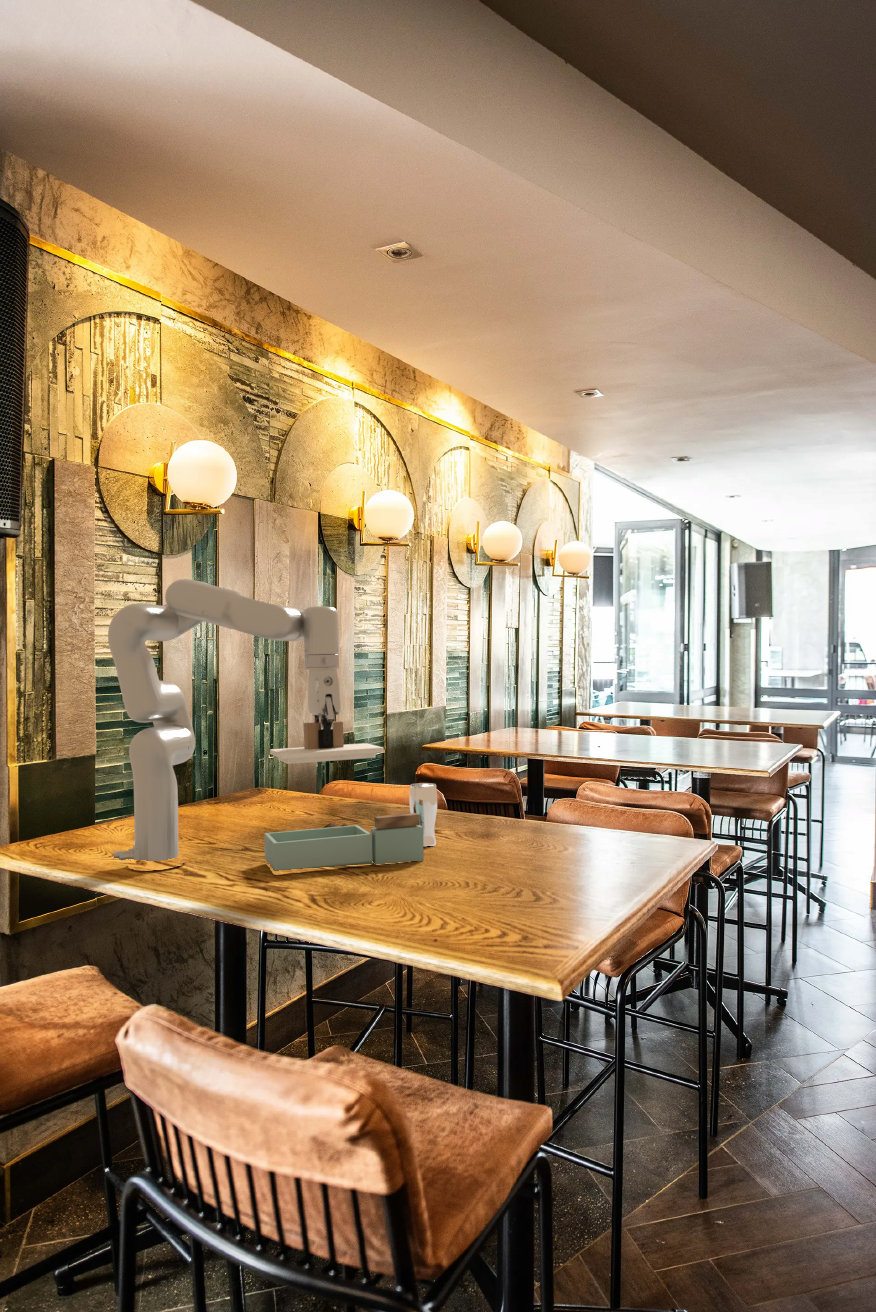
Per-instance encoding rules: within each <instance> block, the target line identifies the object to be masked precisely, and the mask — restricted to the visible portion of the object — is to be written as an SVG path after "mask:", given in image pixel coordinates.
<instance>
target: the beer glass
mask: <svg viewBox="0 0 876 1312" xmlns="http://www.w3.org/2000/svg"><path fill="white" fill-rule="evenodd" d="M409 812H410V813H417V814H419V825H421V826H423V847H425V848H427V847H426V846H433V847H435V846H437V840H436V834H435V828H436V827H435V826H436V820H437V819H436V818H437V813H438V791H437V784H436V783H432V782H431V783H430V782H419V783H412V784H410V786H409ZM410 813H409V814H410Z"/></svg>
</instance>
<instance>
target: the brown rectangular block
mask: <svg viewBox="0 0 876 1312" xmlns="http://www.w3.org/2000/svg"><path fill="white" fill-rule="evenodd" d="M414 825H419V814H417V813H402V814H400V813H399V814H389V815H376V816H375V815H374V828H377V829H381V828H392V827H403V826H414Z"/></svg>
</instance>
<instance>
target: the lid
mask: <svg viewBox="0 0 876 1312" xmlns="http://www.w3.org/2000/svg"><path fill="white" fill-rule="evenodd" d="M318 730H320V727H319V722H314V723H313V722H304V723H303V747H302V746H301V747H285V748H272V749H271V748H270V749H269V755H271V756H274V757H276V758H277V761H281V762H283V763H284V764H287V765H291V764H304V763H305V764H307V763H319V762H320V763H321V762H331V761H332V762H333V761H347V760H360V759H361V760H363V759H373V758H376V757H377V756H376V755H377V754H376V753H384V752H385V750H384V749H385V747H382V746H379V745H376V744H371V743H367V742H363V743H349V744H344V722H343V721H339V720H337V721H335V720H333V748H324V749H320V748H319V747H318Z"/></svg>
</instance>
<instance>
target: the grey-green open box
mask: <svg viewBox="0 0 876 1312" xmlns="http://www.w3.org/2000/svg"><path fill="white" fill-rule="evenodd" d="M340 826H341V825H340ZM424 856H425V855H424V848H423V826H421V825H414V826H403V827H392V828H381V829H377V828H375V827H372V828H370V832H369V831H368V830H366V829H364V828H363V827H362V826H359V825H358V824H355V825H354V824H353V825H348V826H341V827H339V826H338V827H330V828H323V827H321V828H308V829H298V830H297V829H296V830H287V831H286V830H285V831H277V832H276V831H275V832H265V833H264V860H265V859H266V861H267V862H268V863H269V864H270V866H271V867H272V868H273V870H274V871H279V870H291V869H303V868H317V867H318V868H319V867H335V866H346V865H358V864H372V865H373V863H372V861H373V862H374V863H375V864H385V863H398V862H408V863H410V862H409V861H418V862H424V861H423V860H425V859H424V858H425V857H424Z"/></svg>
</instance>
